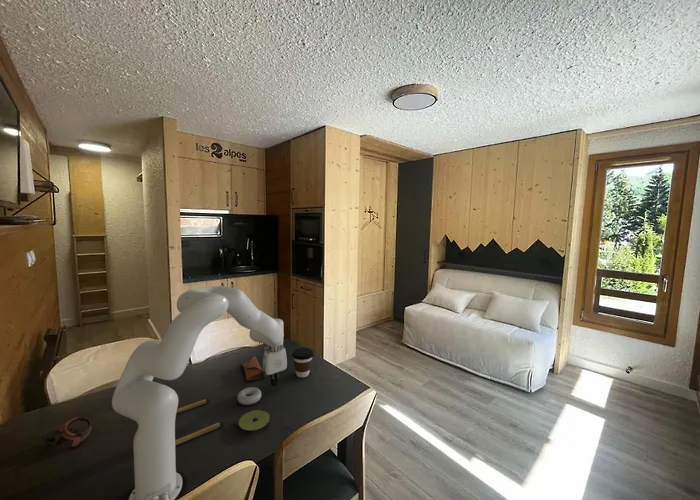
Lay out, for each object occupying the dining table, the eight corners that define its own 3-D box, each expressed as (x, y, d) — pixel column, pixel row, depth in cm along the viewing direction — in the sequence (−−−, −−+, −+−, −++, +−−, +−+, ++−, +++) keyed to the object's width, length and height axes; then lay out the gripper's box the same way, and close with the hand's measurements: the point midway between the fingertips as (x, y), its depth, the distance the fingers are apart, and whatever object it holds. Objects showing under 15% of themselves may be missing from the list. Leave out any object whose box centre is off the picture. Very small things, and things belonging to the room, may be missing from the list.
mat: (248, 440, 102) (248, 434, 102) (233, 424, 110) (233, 419, 109) (275, 423, 111) (275, 419, 111) (259, 410, 118) (259, 406, 118)
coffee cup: (287, 378, 143) (288, 354, 142) (296, 367, 153) (297, 345, 152) (308, 381, 140) (309, 358, 139) (316, 370, 151) (317, 348, 150)
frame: (220, 427, 108) (220, 424, 108) (166, 449, 97) (166, 446, 97) (205, 401, 122) (205, 398, 122) (157, 418, 111) (157, 415, 111)
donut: (232, 405, 121) (254, 408, 119) (232, 397, 121) (253, 400, 119) (245, 391, 131) (265, 394, 129) (245, 384, 130) (265, 387, 129)
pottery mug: (82, 427, 106) (92, 410, 105) (87, 450, 101) (97, 432, 100) (35, 439, 95) (45, 420, 94) (39, 465, 91) (49, 445, 89)
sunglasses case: (239, 364, 153) (246, 352, 155) (251, 368, 157) (257, 356, 158) (246, 381, 138) (253, 367, 139) (259, 384, 141) (266, 372, 143)
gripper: (262, 354, 123) (262, 395, 125) (293, 345, 133) (292, 383, 134) (255, 348, 128) (255, 387, 130) (285, 339, 138) (285, 376, 140)
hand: (274, 385), depth 132 cm, fingers closed
